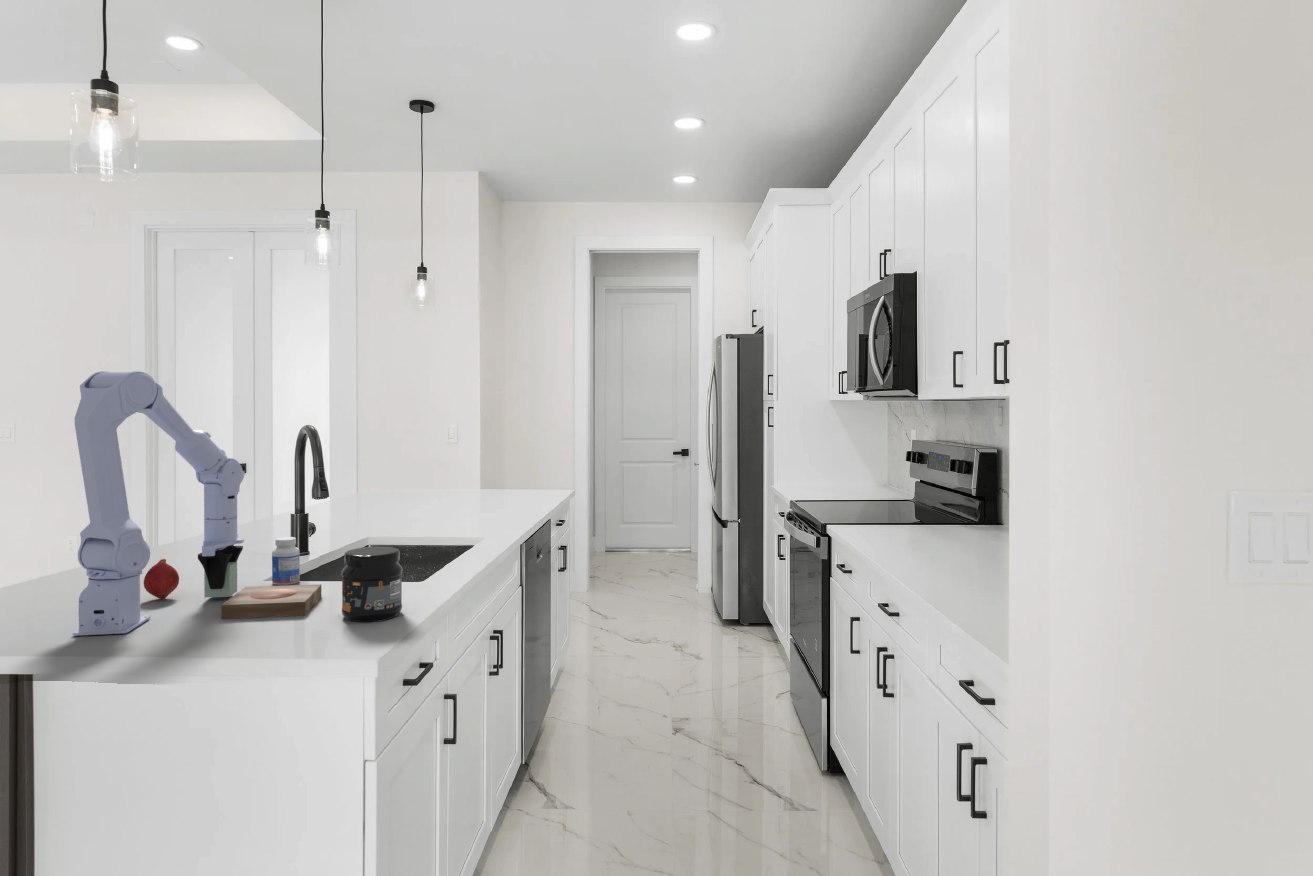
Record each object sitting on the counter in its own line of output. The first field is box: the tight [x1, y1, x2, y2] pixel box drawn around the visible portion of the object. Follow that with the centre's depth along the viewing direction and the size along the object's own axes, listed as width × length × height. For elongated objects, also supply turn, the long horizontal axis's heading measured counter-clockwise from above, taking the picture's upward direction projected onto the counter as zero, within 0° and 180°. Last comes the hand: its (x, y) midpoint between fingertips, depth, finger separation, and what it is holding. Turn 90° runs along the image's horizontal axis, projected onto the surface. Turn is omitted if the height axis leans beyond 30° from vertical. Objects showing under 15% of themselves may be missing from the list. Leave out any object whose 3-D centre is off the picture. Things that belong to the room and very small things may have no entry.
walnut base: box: [220, 583, 322, 620], centre depth 143 cm, size 14×14×3 cm
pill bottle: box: [271, 536, 301, 586], centre depth 163 cm, size 6×5×10 cm
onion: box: [143, 558, 180, 600], centre depth 148 cm, size 6×6×8 cm
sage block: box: [203, 561, 238, 599], centre depth 149 cm, size 4×4×6 cm
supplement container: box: [340, 546, 403, 623], centre depth 138 cm, size 10×10×12 cm
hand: (221, 585), depth 149 cm, fingers closed on sage block, 4 cm apart
